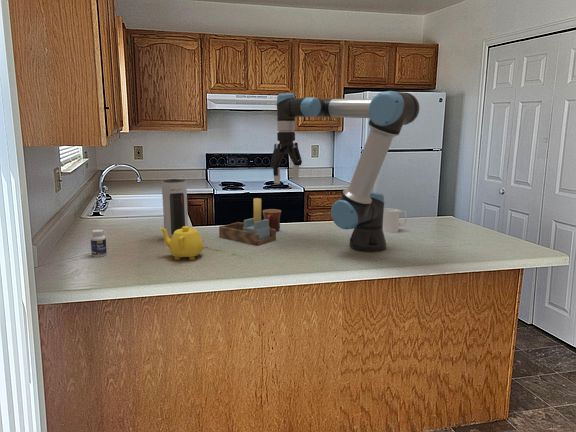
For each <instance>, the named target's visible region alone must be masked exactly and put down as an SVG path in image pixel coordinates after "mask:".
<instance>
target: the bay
mask: <svg viewBox="0 0 576 432" xmlns="http://www.w3.org/2000/svg"><path fill="white" fill-rule="evenodd" d="M243 227H244V222H240V221H236V222H233V223H230V224H229V223H228V224H224V225H220V226H219V227H218V231H219V232H218V233H219V234H218V235H219V238H221V239H226V240H230V241H234V242H239V243H243V244H248V245H251V246H257V247H258V246H261V245H265V244H268V243H272V242H276V241H277V231H276V229H272V228H270V237H269V238H265V239H261V240H259V234H256V233H251V232H246V231H243Z"/></svg>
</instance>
